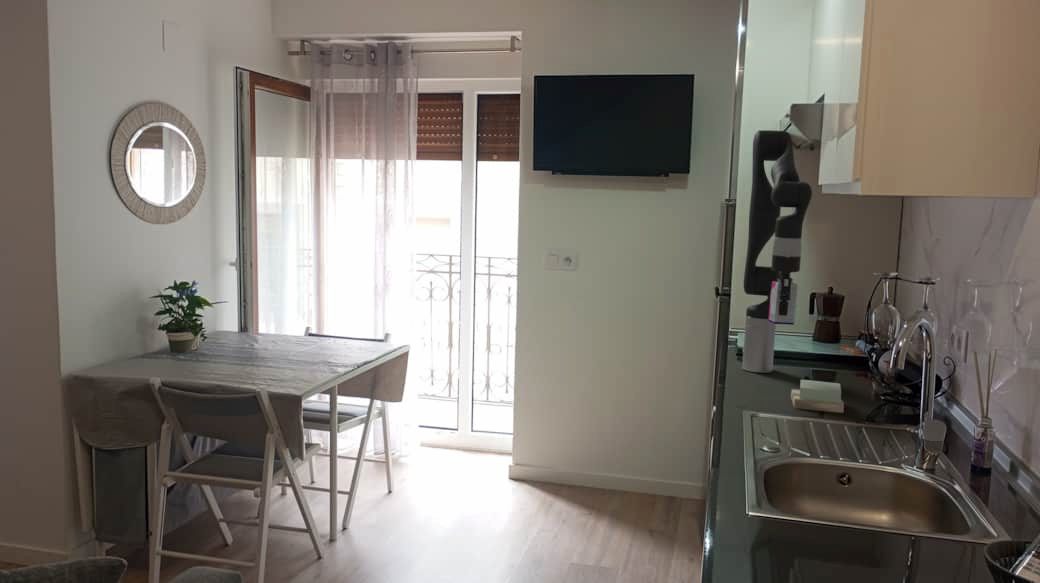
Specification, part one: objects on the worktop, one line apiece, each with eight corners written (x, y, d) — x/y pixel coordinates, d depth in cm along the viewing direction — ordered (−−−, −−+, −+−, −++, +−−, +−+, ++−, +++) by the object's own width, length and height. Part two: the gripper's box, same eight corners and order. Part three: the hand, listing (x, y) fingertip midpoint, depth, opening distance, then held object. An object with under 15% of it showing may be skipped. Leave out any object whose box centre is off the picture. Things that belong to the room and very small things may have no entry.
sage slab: (799, 390, 214) (800, 379, 214) (839, 394, 211) (839, 383, 210) (799, 398, 205) (800, 387, 205) (840, 403, 201) (841, 391, 201)
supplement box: (795, 325, 216) (798, 284, 215) (773, 324, 216) (776, 283, 215) (788, 321, 222) (791, 281, 220) (767, 320, 222) (770, 280, 220)
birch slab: (790, 399, 216) (791, 388, 216) (837, 403, 213) (837, 393, 212) (794, 410, 204) (795, 399, 204) (843, 415, 201) (844, 403, 201)
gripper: (771, 251, 224) (766, 309, 226) (774, 255, 211) (769, 316, 213) (798, 253, 222) (794, 310, 225) (803, 256, 209) (798, 318, 211)
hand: (782, 313), depth 219 cm, fingers closed on supplement box, 6 cm apart
